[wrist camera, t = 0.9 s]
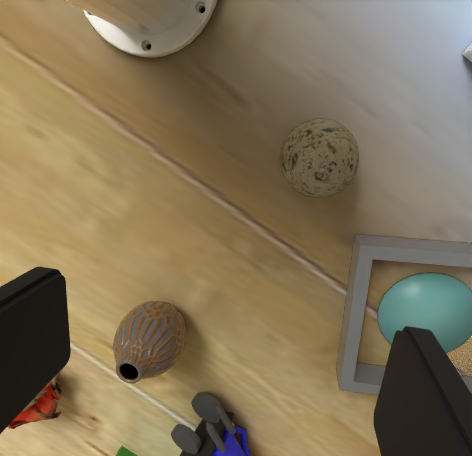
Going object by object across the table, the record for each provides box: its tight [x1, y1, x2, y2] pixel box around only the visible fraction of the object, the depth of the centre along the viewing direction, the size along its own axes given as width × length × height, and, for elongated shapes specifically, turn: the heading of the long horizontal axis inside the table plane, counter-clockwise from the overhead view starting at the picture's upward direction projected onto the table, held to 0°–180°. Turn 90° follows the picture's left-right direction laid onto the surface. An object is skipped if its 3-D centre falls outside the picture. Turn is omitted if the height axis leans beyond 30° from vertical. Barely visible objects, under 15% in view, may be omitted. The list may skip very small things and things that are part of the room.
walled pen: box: [336, 234, 472, 395], centre depth 33 cm, size 15×15×3 cm
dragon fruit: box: [7, 374, 62, 429], centre depth 41 cm, size 8×8×12 cm
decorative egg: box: [280, 119, 359, 197], centre depth 26 cm, size 6×6×10 cm
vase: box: [113, 301, 186, 383], centre depth 35 cm, size 7×7×9 cm
